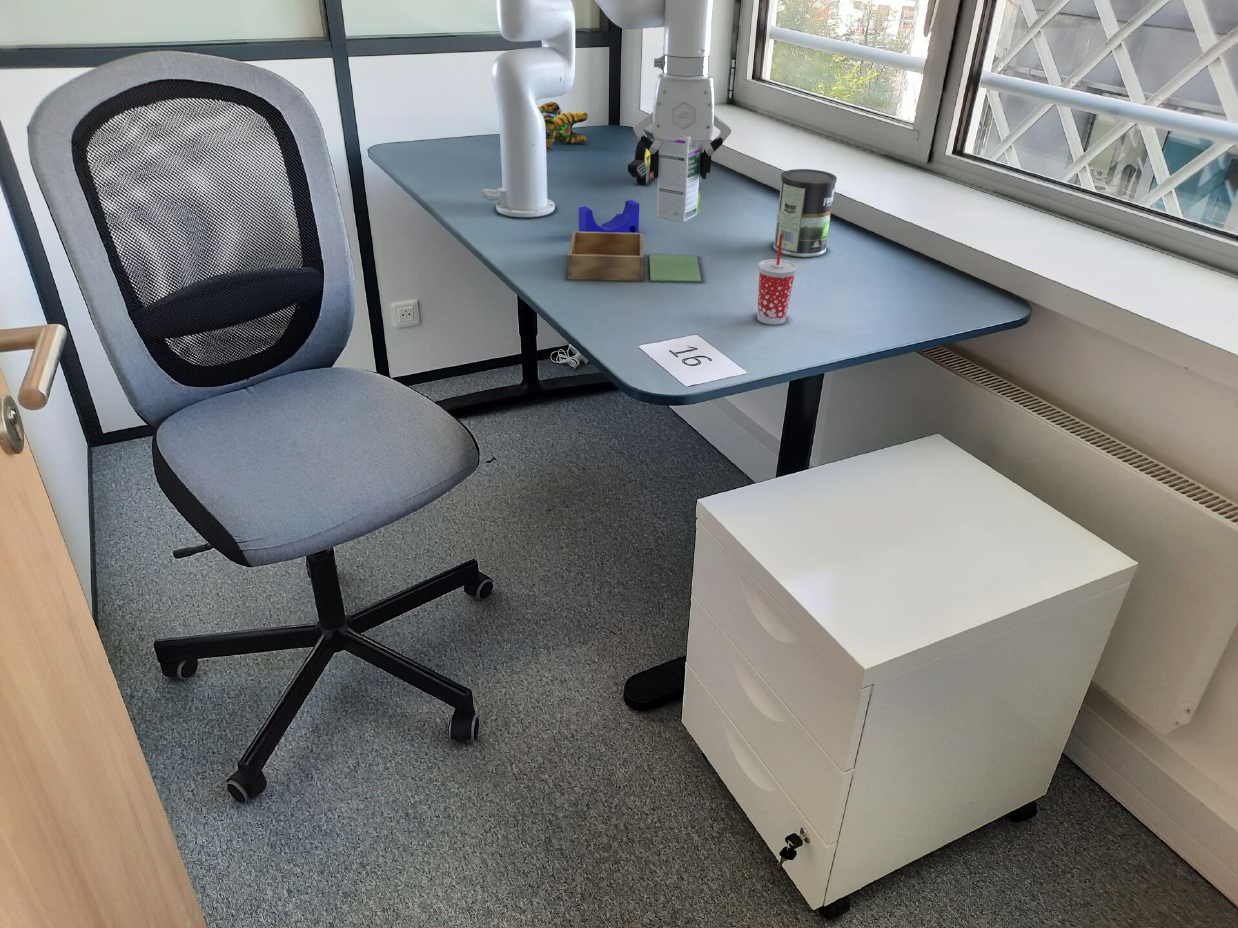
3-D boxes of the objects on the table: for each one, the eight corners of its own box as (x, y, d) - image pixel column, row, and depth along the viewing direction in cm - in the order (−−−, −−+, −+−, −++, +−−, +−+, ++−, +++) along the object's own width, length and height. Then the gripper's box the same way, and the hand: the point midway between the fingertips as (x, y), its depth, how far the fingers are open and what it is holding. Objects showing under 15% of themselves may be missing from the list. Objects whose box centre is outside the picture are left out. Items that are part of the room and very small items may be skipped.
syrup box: (684, 223, 153) (689, 137, 145) (654, 217, 156) (658, 132, 148) (699, 215, 157) (705, 130, 149) (670, 209, 160) (675, 126, 152)
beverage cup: (776, 329, 139) (787, 243, 132) (744, 319, 143) (753, 234, 135) (797, 318, 143) (809, 234, 136) (765, 308, 147) (775, 225, 139)
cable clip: (627, 227, 182) (628, 198, 178) (638, 233, 178) (639, 204, 175) (575, 235, 177) (575, 205, 174) (585, 241, 173) (585, 211, 170)
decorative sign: (635, 194, 202) (637, 149, 196) (626, 193, 202) (628, 148, 197) (668, 166, 223) (670, 125, 218) (660, 165, 224) (662, 124, 219)
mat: (650, 281, 156) (650, 279, 156) (649, 256, 167) (649, 254, 167) (700, 282, 156) (701, 280, 156) (696, 257, 167) (696, 255, 167)
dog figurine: (553, 148, 254) (504, 152, 243) (550, 102, 250) (499, 104, 239) (599, 146, 240) (549, 150, 229) (596, 97, 236) (545, 99, 225)
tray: (568, 279, 156) (568, 255, 154) (572, 254, 167) (572, 231, 165) (642, 281, 156) (643, 257, 154) (642, 255, 167) (642, 233, 165)
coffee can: (829, 244, 175) (840, 172, 167) (821, 260, 167) (832, 185, 159) (778, 237, 178) (787, 166, 170) (767, 253, 170) (776, 179, 162)
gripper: (632, 69, 140) (629, 181, 149) (741, 72, 140) (731, 183, 149) (632, 62, 146) (629, 170, 156) (736, 64, 146) (727, 172, 156)
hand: (679, 176), depth 153 cm, fingers closed on syrup box, 7 cm apart
